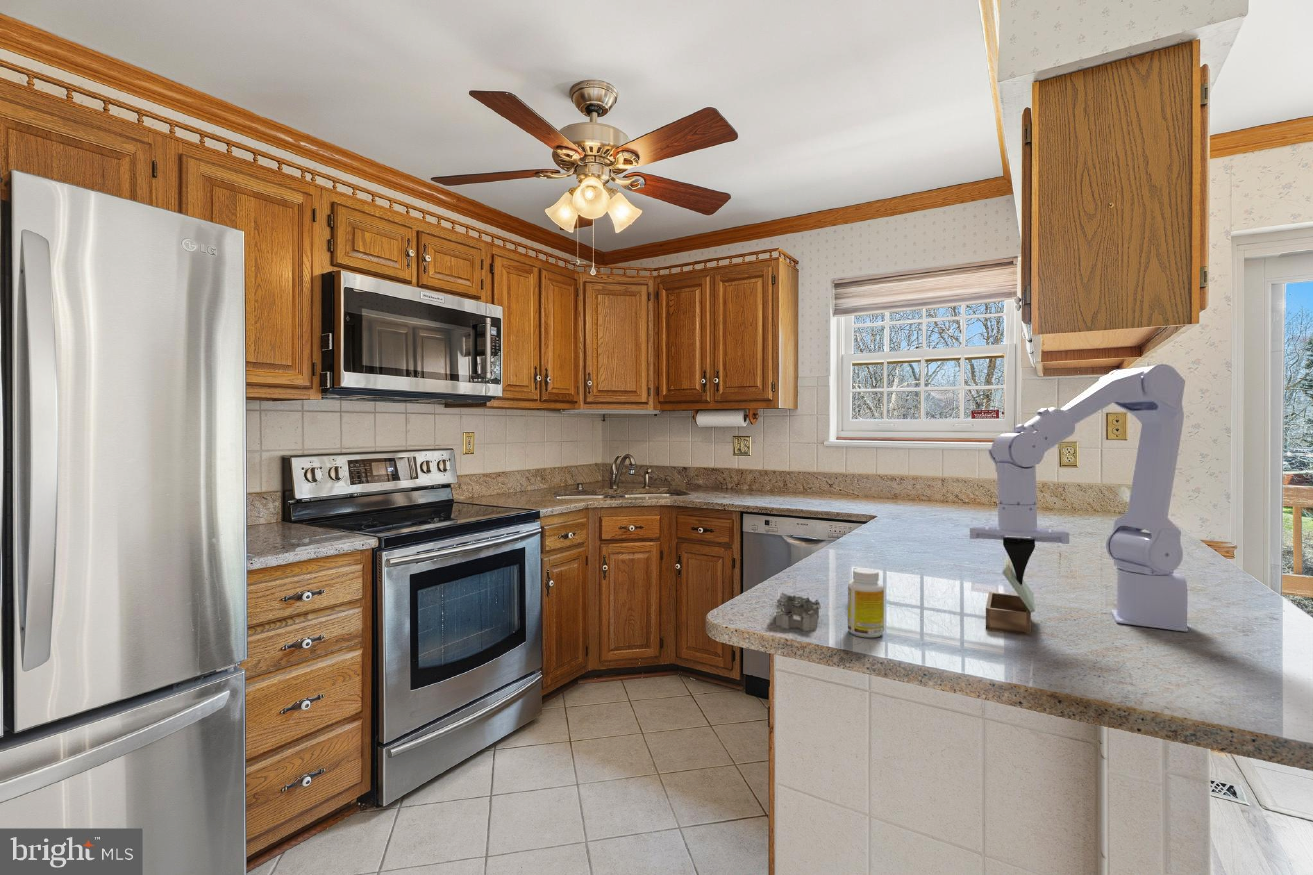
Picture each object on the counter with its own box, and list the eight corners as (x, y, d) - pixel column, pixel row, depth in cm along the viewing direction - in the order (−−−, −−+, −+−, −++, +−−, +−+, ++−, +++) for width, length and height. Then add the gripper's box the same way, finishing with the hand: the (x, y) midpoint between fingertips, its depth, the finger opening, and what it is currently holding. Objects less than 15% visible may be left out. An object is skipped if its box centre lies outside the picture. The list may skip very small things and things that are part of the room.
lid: (1030, 595, 110) (1033, 593, 110) (1031, 612, 99) (1035, 610, 99) (1004, 559, 112) (1007, 557, 112) (1002, 572, 101) (1006, 570, 101)
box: (1029, 616, 110) (1029, 596, 110) (1030, 636, 100) (1030, 613, 100) (988, 611, 113) (988, 591, 113) (985, 629, 103) (985, 608, 103)
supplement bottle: (891, 636, 99) (891, 573, 99) (862, 640, 97) (863, 575, 97) (868, 626, 105) (868, 565, 104) (840, 629, 103) (840, 568, 103)
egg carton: (816, 634, 101) (816, 609, 101) (770, 628, 104) (770, 604, 104) (823, 615, 111) (823, 593, 111) (781, 611, 114) (781, 589, 114)
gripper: (967, 504, 106) (969, 584, 106) (1070, 507, 98) (1072, 593, 98) (970, 500, 112) (972, 575, 112) (1066, 502, 104) (1068, 583, 104)
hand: (1018, 583), depth 105 cm, fingers closed, pressing on lid
